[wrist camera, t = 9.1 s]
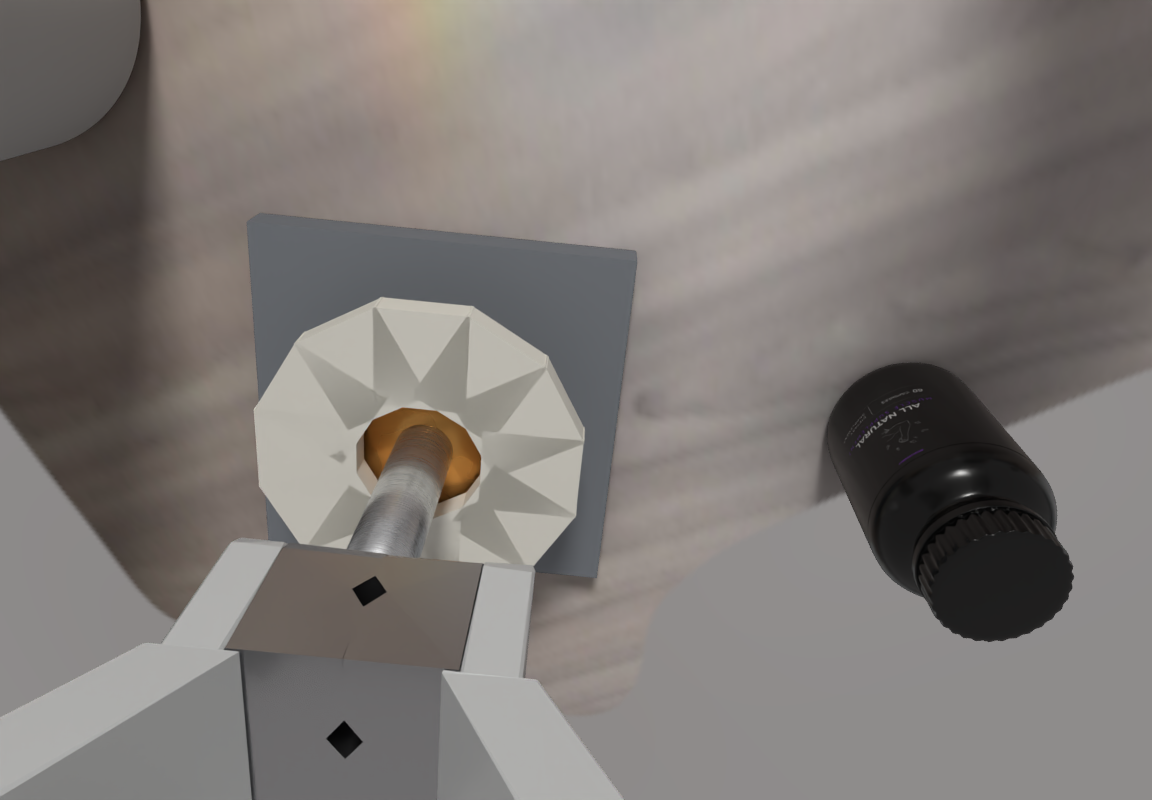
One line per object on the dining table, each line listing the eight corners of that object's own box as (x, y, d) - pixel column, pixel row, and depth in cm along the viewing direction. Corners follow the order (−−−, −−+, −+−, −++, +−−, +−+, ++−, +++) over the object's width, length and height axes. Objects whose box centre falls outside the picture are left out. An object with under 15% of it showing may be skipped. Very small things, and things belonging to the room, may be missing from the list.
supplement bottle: (852, 343, 38) (949, 481, 28) (997, 375, 39) (1150, 523, 28) (802, 474, 41) (872, 646, 31) (938, 502, 42) (1055, 681, 31)
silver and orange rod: (513, 357, 38) (467, 543, 25) (504, 484, 40) (459, 710, 28) (365, 342, 38) (244, 522, 25) (366, 470, 40) (257, 691, 28)
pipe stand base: (636, 250, 37) (637, 260, 36) (596, 559, 44) (596, 577, 42) (259, 213, 37) (246, 221, 35) (279, 529, 44) (268, 546, 42)
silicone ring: (597, 317, 33) (597, 329, 32) (566, 592, 39) (565, 609, 38) (256, 284, 33) (244, 293, 32) (274, 564, 39) (265, 581, 38)
